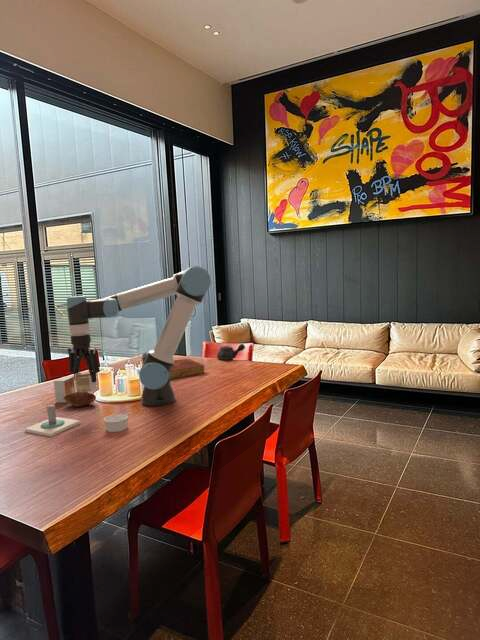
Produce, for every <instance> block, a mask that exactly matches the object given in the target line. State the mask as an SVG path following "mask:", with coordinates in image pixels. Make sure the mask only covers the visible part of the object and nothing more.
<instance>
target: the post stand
mask: <svg viewBox="0 0 480 640" xmlns="http://www.w3.org/2000/svg"><path fill="white" fill-rule="evenodd" d="M46 410H47V419H45V420H43V421H40V422H38V423H36V424H33V425H30V426H28V427H26V428H25V427H24V432H25V433H29V434H30V433H31V434H35V435H41V436H46V437H50V438H51V437H53V436H56V435H57V434H61V433H63V432H65V431H67V430H70V429H71V428H74V427H77V426H78V425H81V421H80V420H78V419H73V418H72V419H71V418H66V417H60V416H59V417H58V416H57V414H56V413H57V412H56V406H55V404H51V405H50V404H49V405H47V406H46Z"/></svg>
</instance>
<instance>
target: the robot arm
mask: <svg viewBox="0 0 480 640" xmlns="http://www.w3.org/2000/svg"><path fill="white" fill-rule="evenodd" d="M211 281H212V280H211V276H210V273H209V272H208V271H207V270H206V269H205V268H204V267H203V266H199V265H198V266H197V265H193V266H189V267H187V268H186V269H184V270H182V271H180V272H178V273H175V274H173V275H172V277H170V278H166V279H163V280H160V281H159V280H158V281H155V282H152V283H150V284H146V285H143V286H139V287H137V288H136V287H135V288H131V289H130V290H126V291H123V292H120V293H116V294H113V295H110V296H105V297H103V298H101V299H90V300H89V299H87V297H86V296H85V295H74V296H68V297H67V298H66V310H67V317H68V325H69V327H68V328H69V334H70V344H71V345H72V347H70V348H69V347H68V348H67V352H68V353H67V354H68V371H69V372H71V373H72V374H73V377H74V384H76V378H75V377H76V376H77V375H80V374H82V373H81V370H80V368H81V363H82V360H84V362H85V365H86V367H87V369H88V373H90V374H89V383H90V392H92V391H95V390H97V373H100V366H99V360H98V356H97V351H98V350H97V348H96V347H95V348H94V347H93V348H92V347H91V345H90V344H91V343H92V340H91V334H90V332H91V331H90V322H89V320H91V319H102V318H103V319H104V318H105V319H107V318H108V319H111V318H116V317H118V315H119V312H121V311H125V310H129V309H132V308H135V307H138V306H142V305H145V304H148V303H152V302H155V301H157V300H161V299H165V298H169V297H172V296H175V295H176V298H175V301H174V303H173V305H172V307H171V310H170V311H169V315H168V317H167V319H166V321H165V323H164V325H163V328H162V329H161V331H160V334H159V337H158V339H157V341H156V343H155V345H154V348H153V349H151V350H149V351H146V352H143V353H142V354H141V360H142V364H141V366H142V368H141V367H140V369H139V375H138V377H139V381H140V383H141V384H142V385H143V388H142V389H143V390H142V394H141V398H140V402H141V404H142V405H144V406H146V407H162V406H166V405H170V404H171V403H173V402H175V400H176V395H175V392H174V389H173V386H172V384H171V379H170V371H171V369H172V367H173V365H174V361H175V360H174V356H175V354H176V351H177V349H178V347H179V344H180V342H181V341H182V338H183V336H184V334H185V333H184V332H186V329H187V327H188V324H189V322H190V321H191V317H192V316H193V313H194V311H195V309H196V307H197V305H200V304H202V302H203V299H204V297H205V295H206V293H207V292H208V290H210V287H211V285H212V284H211V283H212V282H211ZM75 390H77V387H76V386H75Z"/></svg>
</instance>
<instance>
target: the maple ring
mask: <svg viewBox="0 0 480 640" xmlns="http://www.w3.org/2000/svg"><path fill="white" fill-rule="evenodd" d="M89 374H90V372H88V373H81V374H80V375H77V376H76V377H75V378H76V383H75V388H76V387H77V389H76V392H82V393H83V392H88V393H90V392H91V391H90V383H89Z"/></svg>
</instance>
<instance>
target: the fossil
mask: <svg viewBox="0 0 480 640" xmlns="http://www.w3.org/2000/svg"><path fill="white" fill-rule="evenodd" d="M63 399H64V400H65V401H66V403H67V404H69V405H70V406H72V407H74V408H75V407H80V408H81V407H86V406H88V405H89V404H92V403H94V402H95V401H96V399H97V395H95V394H94V393H90V392H83V393H82V392H77V391H75V393H73V394H69V395H66V396H65V397H64V398H63Z"/></svg>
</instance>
